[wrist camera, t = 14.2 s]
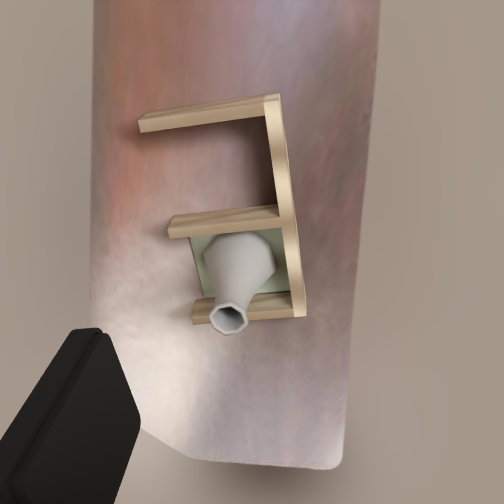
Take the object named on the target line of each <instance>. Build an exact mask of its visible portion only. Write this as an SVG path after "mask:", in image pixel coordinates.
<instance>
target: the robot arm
mask: <svg viewBox="0 0 504 504" xmlns="http://www.w3.org/2000/svg"><path fill="white" fill-rule="evenodd" d="M140 424H141V420H140V414H139V411H138V409H137V406H136V403H135V401H134V398H133V396H132V393H131V390H130V388H129V385H128V383H127V380H126V377H125V375H124V372H123V369H122V367H121V364H120V362H119V359H118V356H117V354H116V351H115V349H114V346H113V343H112V341H111V338H110V336H109V335H108V334H106V333H103V332H102V330H101V329H99V328H85V329H75V330H72V331H71V332H70V333H69V335H68V337H67V338H66V340H65V341H64V343H63V344H62V346H61V347H60V349H59V351H58V352H57V354H56V355H55V357H54V358H53V360H52V361H51V363H50V365H49V366H48V368H47V369H46V371H45V372H44V374H43V375H42V377H41V378H40V380H39V381H38V383H37V385H36V386H35V388H34V389H33V391H32V392H31V394H30V395H29V397H28V398H27V400H26V402H25V403H24V405H23V406H22V408H21V409H20V411H19V412H18V414H17V416H16V417H15V419H14V420H13V422H12V423H11V425H10V426H9V428H8V429H7V431H6V432H5V434H4V436H3V437H2V439H1V440H0V504H114V502H115V499H116V496H117V493H118V490H119V487H120V484H121V482H122V479H123V476H124V473H125V470H126V468H127V465H128V462H129V459H130V456H131V453H132V450H133V448H134V445H135V442H136V439H137V436H138V433H139V430H140Z"/></svg>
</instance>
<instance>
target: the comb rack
mask: <svg viewBox="0 0 504 504" xmlns="http://www.w3.org/2000/svg"><path fill="white" fill-rule="evenodd" d="M264 115H265V117H266V124H267V131H268V138H269V145H270V152H271V159H272V166H273V173H274V180H275V186H276V193H277V200H278V204H272V205H263V206H254V207H246V208H237V209H228V210H219V211H210V212H201V213H192V214H184V215H175V216H174V218H173V219H172V221H171V223H170V225H169V227H168V229H167V230H168V234H169V238H170V239H175V238H185V237H190V241H191V245H192V249H193V253H194V257H195V261H196V265H197V269H198V273H199V277H200V281H201V285H202V289H203V293H204V297H205V298H208V297H215V292H214V287H213V283H212V280H211V277H210V273H209V270H208V268H207V265H206V262H205V259H204V256H203V252H204V250H205V249H206V248H207V247H208V246H209V244H210V243H211V242H212V241H213V239H214V238H215V237H216V236H217V235H218V234H222V233H232V232H241V231H251V230H252V231H254V232H255V233H257V234H258V235H259V236H261V237H262V238H264V239H265V240H266V241H268V242H269V243H270V244H271V247H272V250H273V253H274V256H275V260H276V263H277V266H278V268H277V270H276V271H275V272H274V273H273V274H272V275H271V276H270V277H269V278H268V280H267V281H266V282H265V283H264V284H263V285H262V286H261V288H260V289H259V290H258V291H257V292H256V293H266V292H278V291H290V290H291V292H282V293H270V294H258V295H254V296H253V297H252V299H251V301H250V303H249V306H248V308H247V311H246V316H247V318H248V320H260V319H273V318H286V317H299V316H306V295H305V287H304V279H303V271H302V263H301V255H300V248H299V240H298V232H297V224H296V216H295V208H294V200H293V192H292V185H291V177H290V169H289V161H288V153H287V145H286V137H285V129H284V122H283V114H282V106H281V98H280V93H273V94H266V95H259V96H253V97H246V98H239V99H232V100H226V101H219V102H212V103H205V104H199V105H192V106H185V107H178V108H172V109H165V110H158V111H151V112H147V113H146V114H145V115H144V116H143V117H141V118H140V119H139V120H138V124H139V128H140V131H141V133H143V132H150V131H158V130H165V129H172V128H179V127H186V126H193V125H200V124H207V123H214V122H221V121H228V120H235V119H242V118H249V117H256V116H264ZM214 304H215V298H211V299H200V300H196V303H195V306H194V309H193V312H192V316H191V318H192V322H193V325H195V324H208V323H210V320H209V318H208V314H209V312H210V311H211V310H212V309H213V308H214Z"/></svg>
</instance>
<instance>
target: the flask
mask: <svg viewBox="0 0 504 504" xmlns="http://www.w3.org/2000/svg"><path fill="white" fill-rule="evenodd" d="M203 256H204V259H205V262H206V265H207V268H208V270H209V273H210V277H211V280H212V283H213V287H214V292H215V304H214V308H213V309H212V310H211V311H210V312H209V314H208V318H209V320H210V323H211V325H212V327H213V328H214V329H215V330H217V331H218V332H220V333H222V334H223V335H225V336H226V335H231V334H237V333H240V332H241V331H242V330H243V329H244V328H245V327H246V326H247V325H248V323H249V322H248V318H247V316H246V311H247V308H248V306H249V303H250V301H251V299H252V297H253V296H254V295H255V294H256V292H257V291H258V290H259V289H260V288H261V286H262V285H263V284H264V283H265V282H266V281H267V280H268V278H269V277H270V276H271V275H272V274H273V273H274V272H275V271H276V270H277V268H278V266H277V263H276V260H275V256H274V253H273V250H272V247H271V244H270V243H269V242H268V241H266V240H265V239H264V238H262V237H261V236H259V235H258V234H257V233H255V232H254V231H252V230H251V231H241V232H232V233H222V234H218V235H217V236H216V237H215V238H214V239H213V241H212V242H211V243H210V244H209V246H208V247H207V248H206V249H205V250H204V252H203Z"/></svg>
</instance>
